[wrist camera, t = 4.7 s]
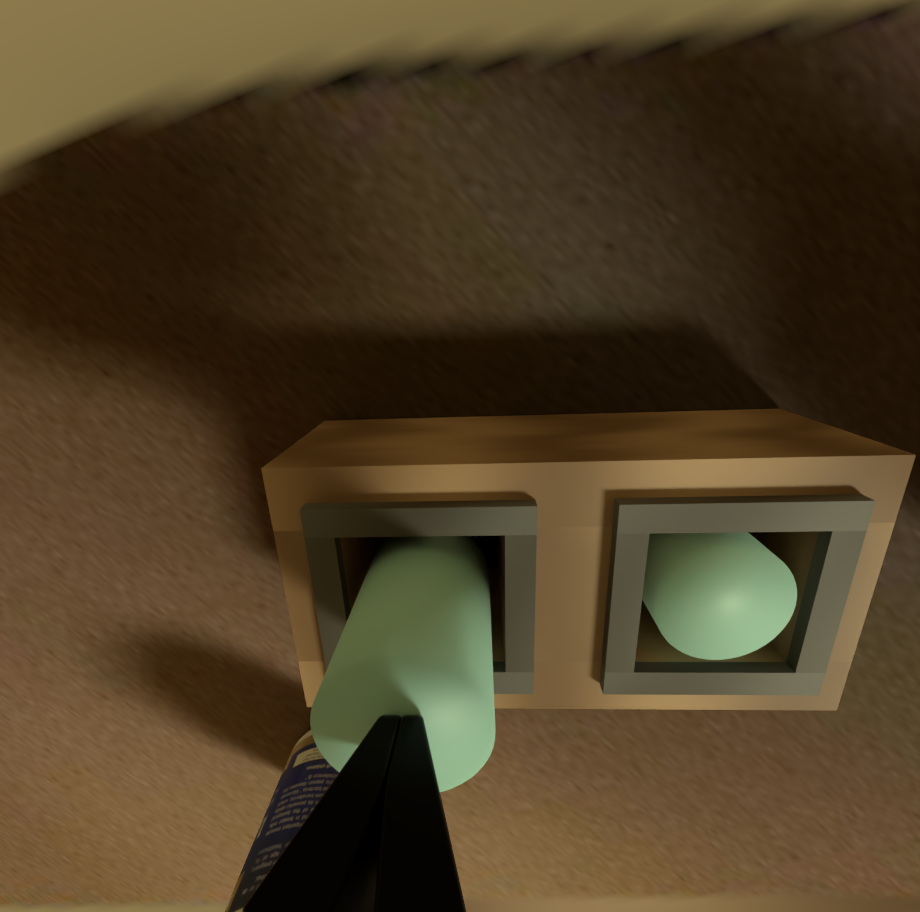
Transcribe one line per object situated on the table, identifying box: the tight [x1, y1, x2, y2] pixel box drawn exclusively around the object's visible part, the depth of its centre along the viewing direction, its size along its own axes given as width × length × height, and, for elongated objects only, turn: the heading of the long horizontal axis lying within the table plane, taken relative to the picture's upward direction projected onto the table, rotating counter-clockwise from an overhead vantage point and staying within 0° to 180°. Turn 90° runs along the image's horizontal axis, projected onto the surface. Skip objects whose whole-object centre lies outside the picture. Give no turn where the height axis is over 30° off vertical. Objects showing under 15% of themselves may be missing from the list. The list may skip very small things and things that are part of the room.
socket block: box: [261, 409, 916, 710], centre depth 14 cm, size 16×8×5 cm, turn 92°
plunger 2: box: [642, 532, 797, 660], centre depth 14 cm, size 4×4×5 cm
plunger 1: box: [310, 536, 495, 792], centre depth 11 cm, size 4×4×5 cm
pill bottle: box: [225, 730, 339, 912], centre depth 17 cm, size 6×6×10 cm
